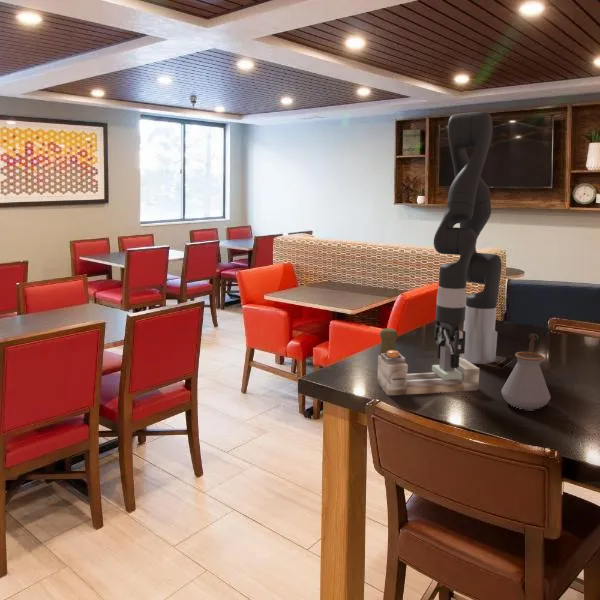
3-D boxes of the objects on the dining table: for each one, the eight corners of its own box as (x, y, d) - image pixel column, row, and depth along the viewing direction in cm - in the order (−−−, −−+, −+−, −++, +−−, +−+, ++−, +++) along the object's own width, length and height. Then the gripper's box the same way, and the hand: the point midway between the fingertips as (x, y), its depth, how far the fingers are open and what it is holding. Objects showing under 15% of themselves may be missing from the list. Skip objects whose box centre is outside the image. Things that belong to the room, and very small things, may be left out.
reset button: (396, 357, 159) (396, 350, 158) (400, 360, 156) (400, 353, 156) (385, 357, 158) (385, 350, 158) (389, 361, 155) (389, 353, 155)
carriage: (448, 369, 165) (450, 343, 164) (461, 378, 158) (463, 351, 156) (431, 370, 164) (433, 343, 163) (443, 379, 157) (445, 352, 155)
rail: (462, 379, 167) (465, 347, 165) (478, 391, 158) (481, 357, 156) (377, 384, 163) (378, 351, 161) (388, 396, 153) (390, 361, 152)
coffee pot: (548, 416, 141) (554, 355, 138) (497, 408, 146) (502, 349, 143) (551, 389, 160) (557, 334, 157) (507, 382, 165) (511, 330, 162)
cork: (397, 368, 177) (398, 332, 174) (376, 366, 178) (378, 330, 176) (398, 362, 182) (399, 327, 180) (378, 360, 184) (379, 326, 181)
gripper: (477, 308, 151) (472, 370, 154) (452, 298, 165) (449, 354, 168) (449, 309, 150) (445, 372, 153) (427, 298, 163) (424, 356, 167)
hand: (447, 363), depth 160 cm, fingers open, 8 cm apart
